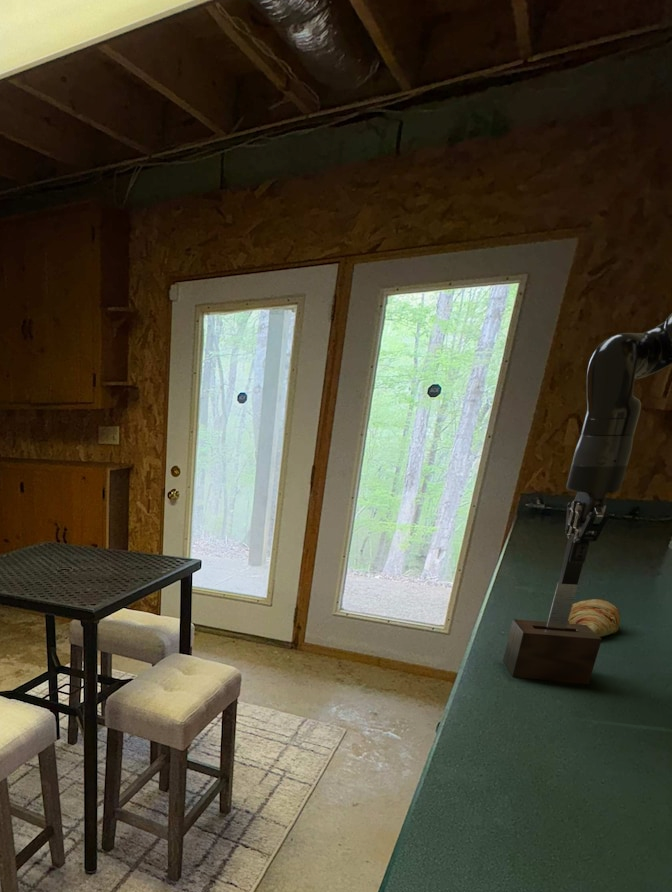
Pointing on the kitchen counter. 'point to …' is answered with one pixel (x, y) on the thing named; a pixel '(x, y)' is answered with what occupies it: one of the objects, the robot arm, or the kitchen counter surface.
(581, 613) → the croissant
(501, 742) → the kitchen counter surface
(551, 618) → the knife
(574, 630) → the knife block
